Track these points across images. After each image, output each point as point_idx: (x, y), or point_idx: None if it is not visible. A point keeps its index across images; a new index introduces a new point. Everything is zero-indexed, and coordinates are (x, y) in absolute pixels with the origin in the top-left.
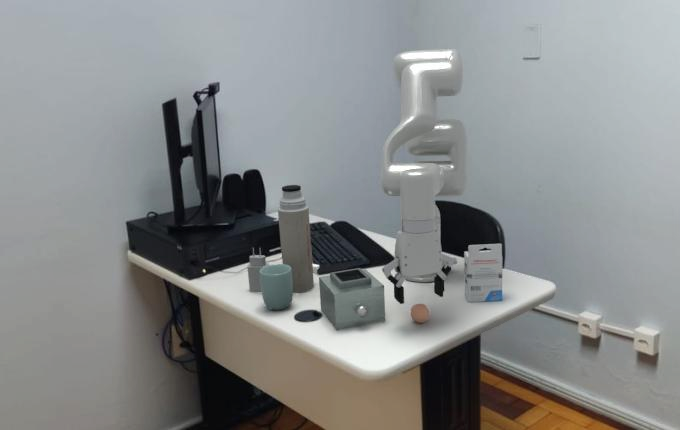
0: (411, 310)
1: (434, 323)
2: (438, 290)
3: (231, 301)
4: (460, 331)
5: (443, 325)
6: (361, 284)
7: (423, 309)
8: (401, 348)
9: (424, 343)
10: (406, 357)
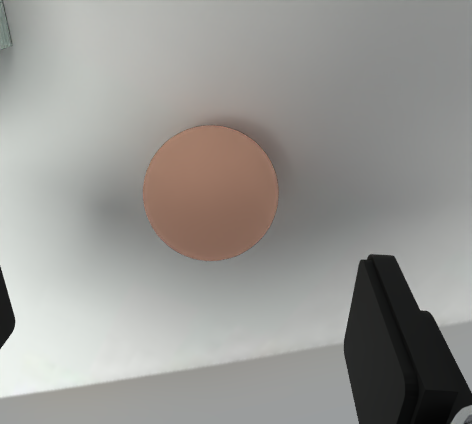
0: (143, 195)
1: (284, 216)
2: (356, 361)
3: None
4: None
5: (314, 256)
6: None
7: (210, 258)
8: (37, 338)
9: (142, 346)
10: (40, 389)
